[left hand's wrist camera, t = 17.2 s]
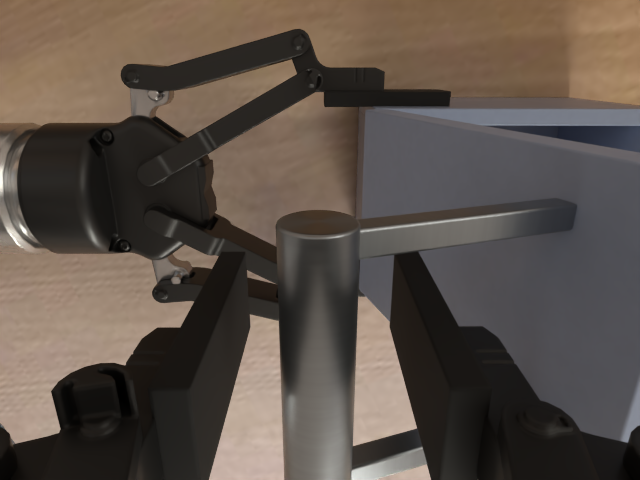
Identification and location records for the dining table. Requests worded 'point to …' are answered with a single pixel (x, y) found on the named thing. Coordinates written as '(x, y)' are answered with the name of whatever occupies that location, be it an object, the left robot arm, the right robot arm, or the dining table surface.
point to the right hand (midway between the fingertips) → (434, 189)
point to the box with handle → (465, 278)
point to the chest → (529, 121)
